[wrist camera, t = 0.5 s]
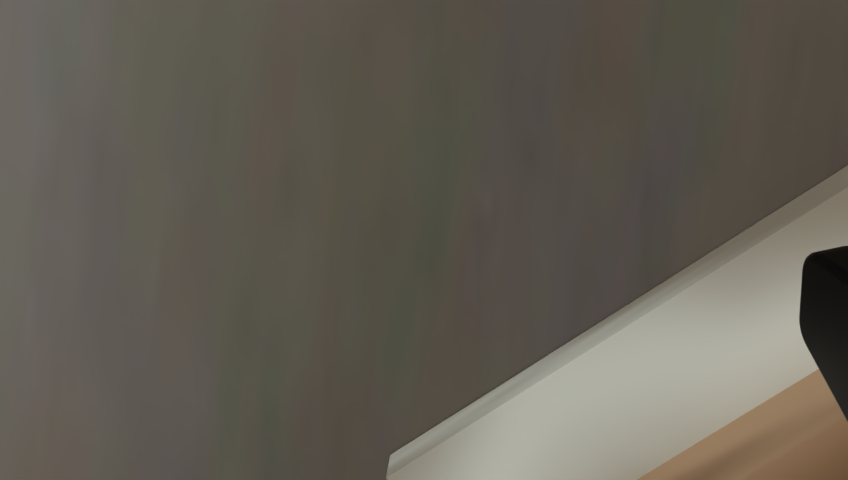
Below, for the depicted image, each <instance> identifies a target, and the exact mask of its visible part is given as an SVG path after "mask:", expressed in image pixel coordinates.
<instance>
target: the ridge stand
mask: <svg viewBox="0 0 848 480" xmlns="http://www.w3.org/2000/svg"><path fill="white" fill-rule="evenodd" d="M841 246H848V166H846V167H845V168H843V169H841V170H840V171H838V172H837V173H835V174H834V175H832V176H830V177H829V178H827V179H826V180H824V181H823V182H821V183H819V184H818V185H816V186H815V187H813V188H811V189H810V190H808V191H807V192H805V193H804V194H802V195H800V196H799V197H797V198H796V199H794V200H792V201H791V202H789V203H788V204H786V205H785V206H783V207H781V208H780V209H778V210H777V211H775V212H774V213H772V214H770V215H769V216H767V217H766V218H764V219H762V220H761V221H759V222H758V223H756V224H755V225H753V226H751V227H750V228H748V229H747V230H745V231H743V232H742V233H740V234H739V235H737V236H736V237H734V238H732V239H731V240H729V241H728V242H726V243H725V244H723V245H721V246H720V247H718V248H717V249H715V250H713V251H712V252H710V253H709V254H707V255H706V256H704V257H702V258H701V259H699V260H698V261H696V262H695V263H693V264H691V265H690V266H688V267H687V268H685V269H683V270H682V271H680V272H679V273H677V274H676V275H674V276H672V277H671V278H669V279H668V280H666V281H664V282H663V283H661V284H660V285H658V286H657V287H655V288H653V289H652V290H650V291H649V292H647V293H646V294H644V295H642V296H641V297H639V298H638V299H636V300H634V301H633V302H631V303H630V304H628V305H627V306H625V307H623V308H622V309H620V310H619V311H617V312H615V313H614V314H612V315H611V316H609V317H608V318H606V319H604V320H603V321H601V322H600V323H598V324H597V325H595V326H593V327H592V328H590V329H589V330H587V331H585V332H584V333H582V334H581V335H579V336H578V337H576V338H574V339H573V340H571V341H570V342H568V343H567V344H565V345H563V346H562V347H560V348H559V349H557V350H555V351H554V352H552V353H551V354H549V355H548V356H546V357H544V358H543V359H541V360H540V361H538V362H536V363H535V364H533V365H532V366H530V367H529V368H527V369H525V370H524V371H522V372H521V373H519V374H518V375H516V376H514V377H513V378H511V379H510V380H508V381H506V382H505V383H503V384H502V385H500V386H499V387H497V388H495V389H494V390H492V391H491V392H489V393H488V394H486V395H484V396H483V397H481V398H480V399H478V400H476V401H475V402H473V403H472V404H470V405H469V406H467V407H465V408H464V409H462V410H461V411H459V412H457V413H456V414H454V415H453V416H451V417H450V418H448V419H446V420H445V421H443V422H442V423H440V424H439V425H437V426H435V427H434V428H432V429H431V430H429V431H427V432H426V433H424V434H423V435H421V436H420V437H418V438H416V439H415V440H413V441H412V442H410V443H408V444H407V445H405V446H404V447H402V448H401V449H399V450H397V451H396V452H394V453H393V454H391V455H390V460H389V465H388V471H387V476H386V478H387V480H848V422H847V420H846V418H845V416H844V414H843V413H842V411H841V409H840V407H839V405H838V403H837V402H836V400H835V398H834V396H833V394H832V392H831V391H830V389H829V387H828V385H827V383H826V381H825V379H824V378H823V376H822V374H821V372H820V370H819V368H818V367H817V365H816V363H815V361H814V359H813V357H812V355H811V354H810V352H809V350H808V348H807V346H806V344H805V342H804V340H803V337H802V334H801V330H800V324H799V312H800V297H801V283H802V269H803V264H804V261H805V259H806V257H807V256H809V255H810V254H811V253H813V252H817V251H822V250H827V249H832V248H836V247H841Z"/></svg>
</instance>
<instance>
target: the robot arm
mask: <svg viewBox="0 0 848 480" xmlns="http://www.w3.org/2000/svg"><path fill="white" fill-rule="evenodd" d="M799 324H800V330H801V334H802V337H803V340H804V342H805V344H806V346H807V348H808V350H809V352H810V354H811V355H812V357H813V359H814V361H815V363H816V365H817V367H818V368H819V370H820V372H821V374H822V376H823V378H824V379H825V381H826V383H827V385H828V387H829V389H830V391H831V392H832V394H833V396H834V398H835V400H836V402H837V403H838V405H839V407H840V409H841V411H842V413H843V414H844V416H845V418H846V420H847V422H848V246H841V247H836V248H832V249H827V250H822V251H817V252H813V253H811V254H810V255H809V256H807V257H806V259H805V261H804V264H803V269H802V283H801V297H800V312H799Z"/></svg>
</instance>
